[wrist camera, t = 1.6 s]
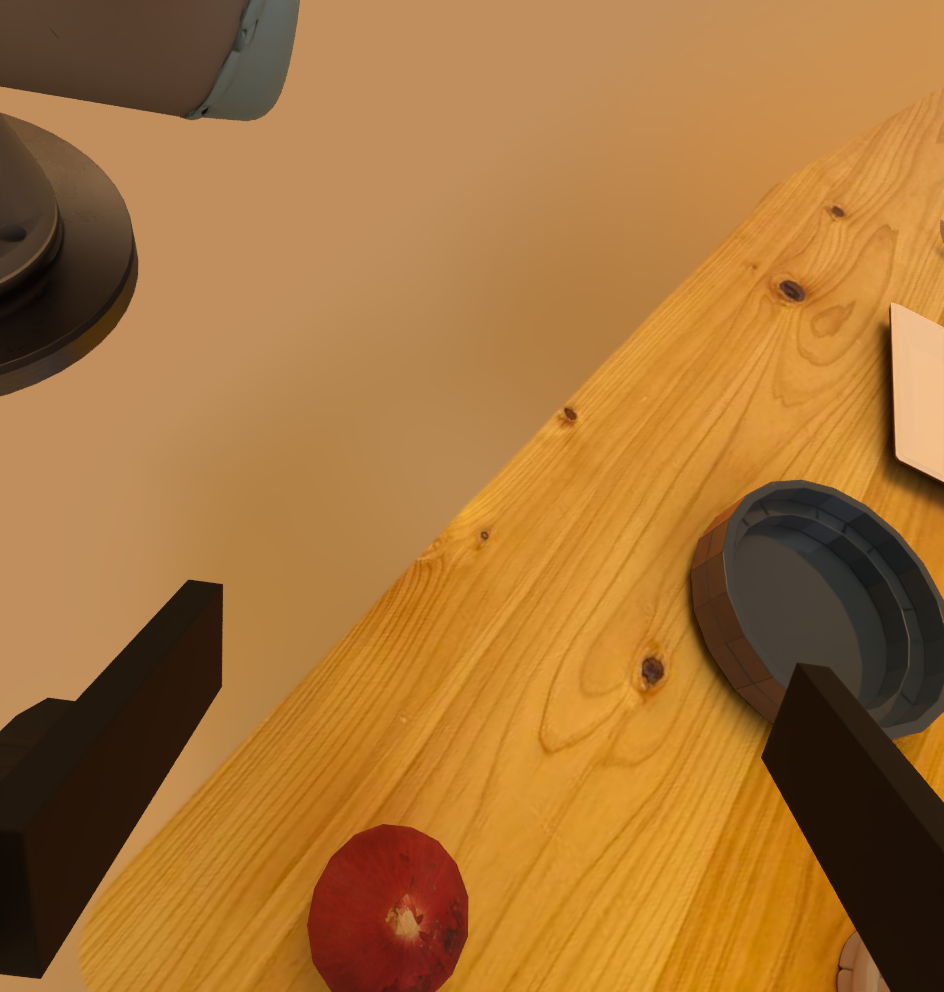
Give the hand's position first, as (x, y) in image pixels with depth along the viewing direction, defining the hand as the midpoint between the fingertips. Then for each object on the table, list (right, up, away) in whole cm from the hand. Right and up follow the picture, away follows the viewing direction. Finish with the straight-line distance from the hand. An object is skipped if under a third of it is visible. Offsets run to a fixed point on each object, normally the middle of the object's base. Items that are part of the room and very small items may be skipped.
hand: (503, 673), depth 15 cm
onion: (-5, -13, +12) cm, 19 cm away
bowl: (+19, -4, +25) cm, 32 cm away
